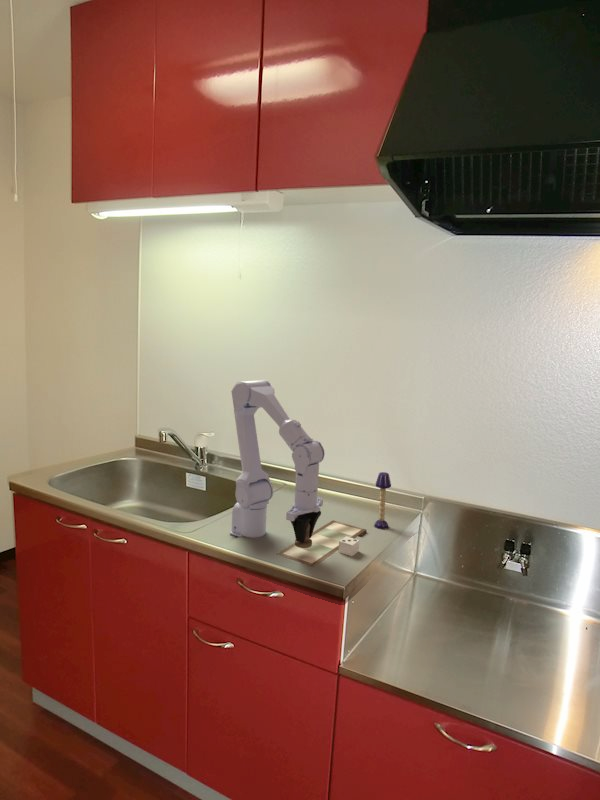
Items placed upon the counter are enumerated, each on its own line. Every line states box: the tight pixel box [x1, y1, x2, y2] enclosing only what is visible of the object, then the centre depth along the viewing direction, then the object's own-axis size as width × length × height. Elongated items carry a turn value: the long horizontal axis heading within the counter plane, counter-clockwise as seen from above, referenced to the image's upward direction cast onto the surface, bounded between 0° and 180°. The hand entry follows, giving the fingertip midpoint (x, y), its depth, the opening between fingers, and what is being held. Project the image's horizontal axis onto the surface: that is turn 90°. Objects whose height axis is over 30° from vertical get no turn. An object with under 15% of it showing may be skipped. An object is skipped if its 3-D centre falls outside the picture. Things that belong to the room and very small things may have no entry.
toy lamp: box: [373, 471, 392, 530], centre depth 158 cm, size 5×5×17 cm
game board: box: [276, 519, 367, 568], centre depth 144 cm, size 11×30×1 cm, turn 147°
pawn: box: [294, 524, 312, 548], centre depth 134 cm, size 4×4×6 cm
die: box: [337, 536, 360, 557], centre depth 138 cm, size 4×4×4 cm
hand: (303, 539), depth 135 cm, fingers closed on pawn, 3 cm apart
